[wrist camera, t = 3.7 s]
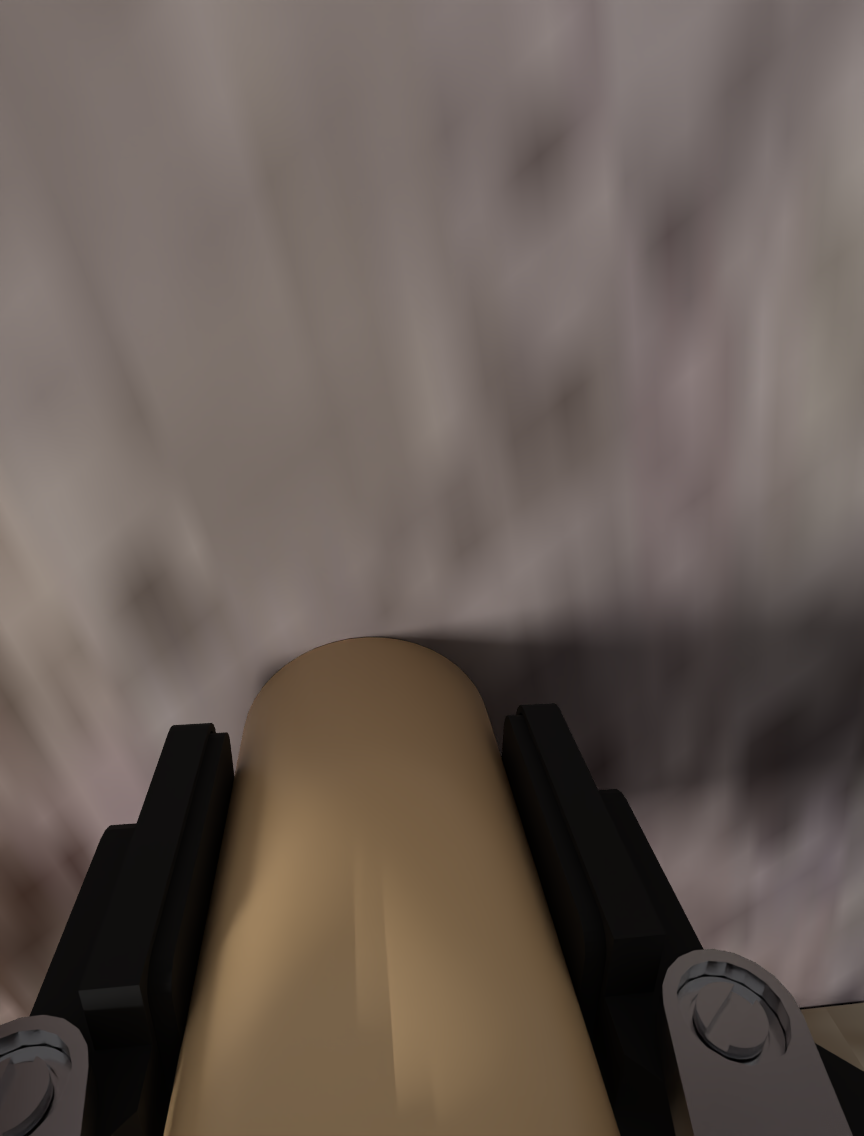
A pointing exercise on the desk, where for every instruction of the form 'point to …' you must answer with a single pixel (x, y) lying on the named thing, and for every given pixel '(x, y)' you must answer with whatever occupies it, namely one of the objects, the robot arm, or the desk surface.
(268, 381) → the desk surface
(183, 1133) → the plug
